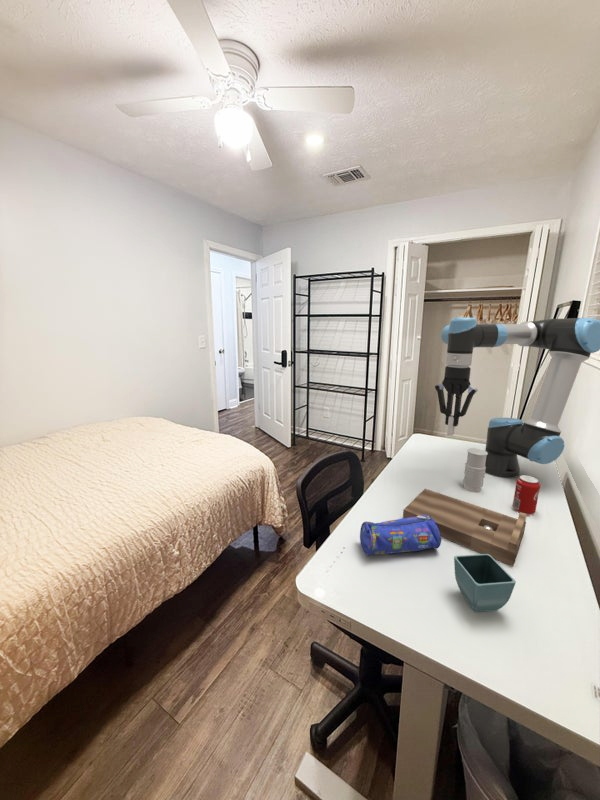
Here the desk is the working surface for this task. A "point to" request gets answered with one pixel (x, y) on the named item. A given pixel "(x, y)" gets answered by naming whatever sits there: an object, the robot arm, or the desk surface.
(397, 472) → the desk surface
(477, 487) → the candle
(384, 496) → the desk surface
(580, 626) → the desk surface
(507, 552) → the board
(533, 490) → the beverage can
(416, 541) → the pencil case
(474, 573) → the flower pot
